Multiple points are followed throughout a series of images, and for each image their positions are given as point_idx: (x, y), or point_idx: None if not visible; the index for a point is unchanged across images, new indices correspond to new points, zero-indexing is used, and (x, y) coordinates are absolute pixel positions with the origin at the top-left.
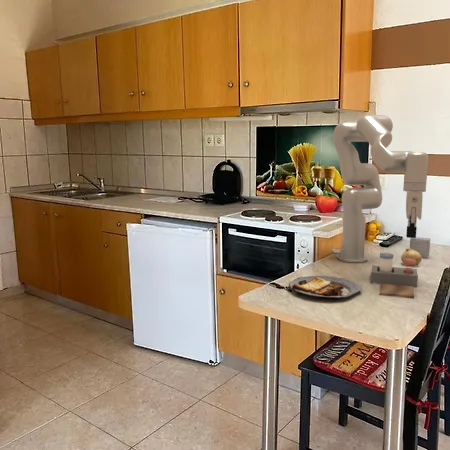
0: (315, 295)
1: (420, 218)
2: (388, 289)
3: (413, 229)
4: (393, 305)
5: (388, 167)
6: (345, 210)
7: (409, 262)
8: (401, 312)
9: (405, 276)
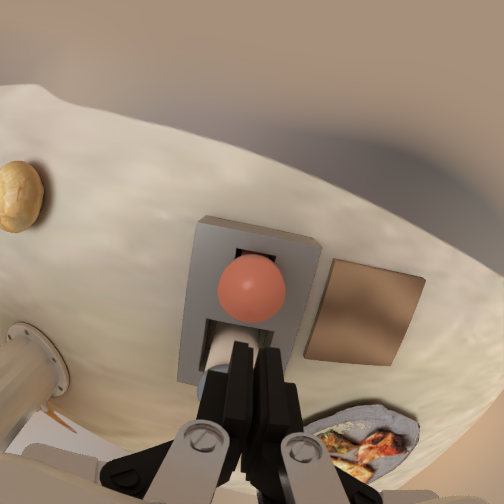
0: (402, 459)
1: (484, 501)
2: (367, 343)
3: (301, 430)
4: (454, 335)
5: None
6: None
7: (283, 295)
8: (485, 322)
9: (307, 292)
